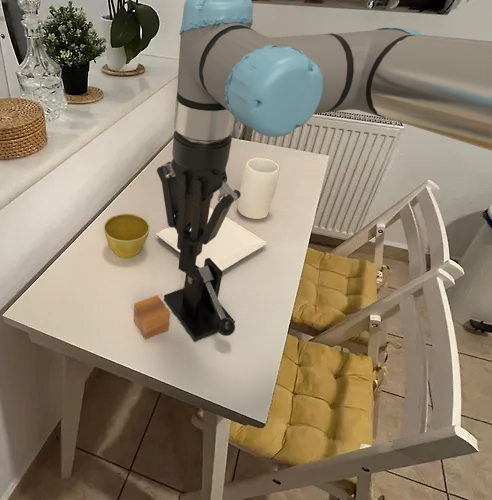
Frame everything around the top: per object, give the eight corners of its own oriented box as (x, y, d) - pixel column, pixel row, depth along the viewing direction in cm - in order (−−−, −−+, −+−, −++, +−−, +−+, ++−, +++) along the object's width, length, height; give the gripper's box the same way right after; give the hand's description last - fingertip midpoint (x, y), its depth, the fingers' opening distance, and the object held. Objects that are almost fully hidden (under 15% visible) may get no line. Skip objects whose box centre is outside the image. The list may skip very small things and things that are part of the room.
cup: (234, 220, 109) (244, 171, 100) (236, 202, 116) (245, 155, 107) (268, 225, 108) (281, 176, 99) (268, 207, 114) (280, 159, 105)
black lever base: (234, 325, 83) (244, 282, 75) (194, 342, 80) (201, 298, 72) (200, 286, 91) (207, 243, 84) (163, 299, 88) (166, 255, 80)
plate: (154, 239, 103) (155, 232, 102) (209, 212, 112) (210, 206, 111) (210, 283, 92) (211, 276, 91) (266, 249, 101) (268, 242, 100)
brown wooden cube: (168, 330, 82) (170, 312, 79) (145, 339, 80) (145, 321, 77) (156, 312, 85) (157, 294, 82) (133, 320, 83) (133, 303, 80)
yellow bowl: (156, 248, 100) (158, 223, 96) (132, 272, 94) (132, 247, 89) (122, 232, 105) (121, 208, 100) (96, 254, 98) (94, 230, 94)
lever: (233, 333, 78) (241, 330, 75) (218, 339, 77) (226, 336, 74) (204, 269, 81) (211, 263, 78) (190, 273, 80) (196, 268, 77)
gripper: (262, 137, 54) (233, 273, 70) (180, 109, 61) (170, 239, 76) (230, 158, 50) (206, 298, 65) (145, 125, 56) (142, 260, 72)
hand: (187, 266), depth 71 cm, fingers closed
